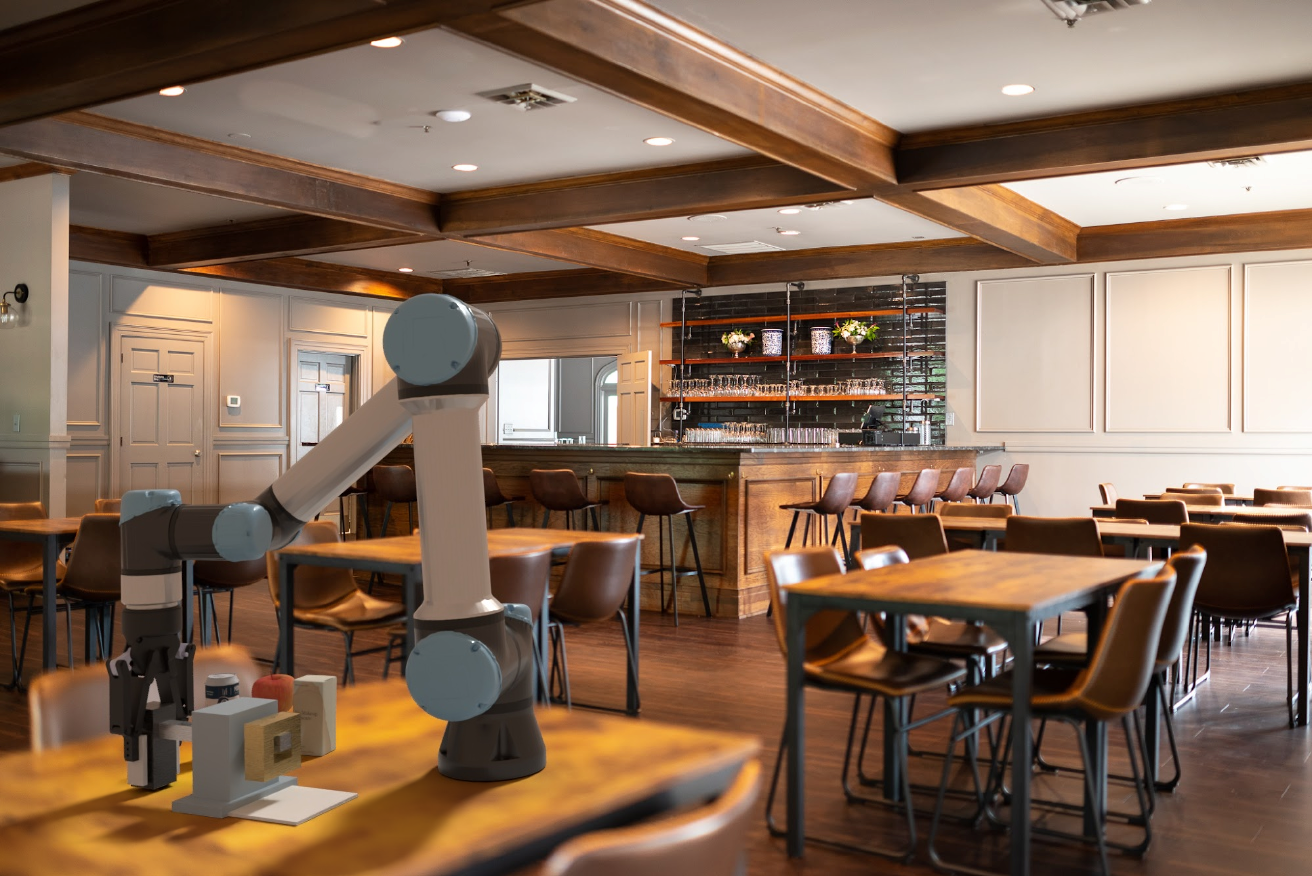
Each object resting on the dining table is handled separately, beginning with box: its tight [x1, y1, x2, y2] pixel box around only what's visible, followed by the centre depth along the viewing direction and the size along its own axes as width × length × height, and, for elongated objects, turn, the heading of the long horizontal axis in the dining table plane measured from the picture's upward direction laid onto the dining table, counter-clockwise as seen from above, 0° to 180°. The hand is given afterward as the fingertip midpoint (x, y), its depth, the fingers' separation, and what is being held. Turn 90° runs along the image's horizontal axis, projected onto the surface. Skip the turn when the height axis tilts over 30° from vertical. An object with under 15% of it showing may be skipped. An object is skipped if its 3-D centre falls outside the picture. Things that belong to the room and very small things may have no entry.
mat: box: [227, 785, 359, 826], centre depth 147 cm, size 11×12×1 cm
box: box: [292, 674, 338, 757], centre depth 173 cm, size 5×4×11 cm
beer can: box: [204, 672, 240, 708], centre depth 170 cm, size 5×5×12 cm
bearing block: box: [171, 696, 299, 819], centre depth 150 cm, size 8×14×12 cm, turn 158°
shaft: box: [130, 700, 291, 790], centre depth 152 cm, size 24×4×10 cm, turn 68°
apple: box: [250, 670, 296, 713], centre depth 195 cm, size 7×7×8 cm
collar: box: [244, 711, 302, 782], centre depth 148 cm, size 3×7×7 cm, turn 158°
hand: (153, 778), depth 156 cm, fingers open, 5 cm apart
